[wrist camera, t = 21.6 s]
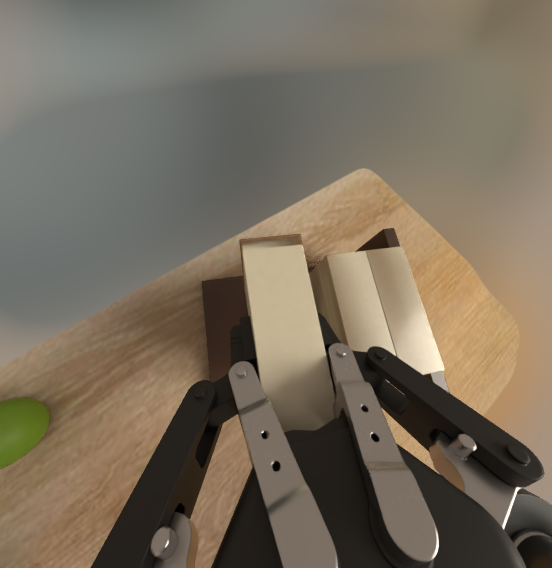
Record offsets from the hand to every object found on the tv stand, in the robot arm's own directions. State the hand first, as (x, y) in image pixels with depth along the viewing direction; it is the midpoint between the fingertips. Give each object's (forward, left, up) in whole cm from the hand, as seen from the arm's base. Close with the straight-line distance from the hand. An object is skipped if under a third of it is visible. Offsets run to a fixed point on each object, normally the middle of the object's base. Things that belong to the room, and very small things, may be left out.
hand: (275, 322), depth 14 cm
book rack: (-3, 0, -12) cm, 12 cm away
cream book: (0, 0, -7) cm, 7 cm away
